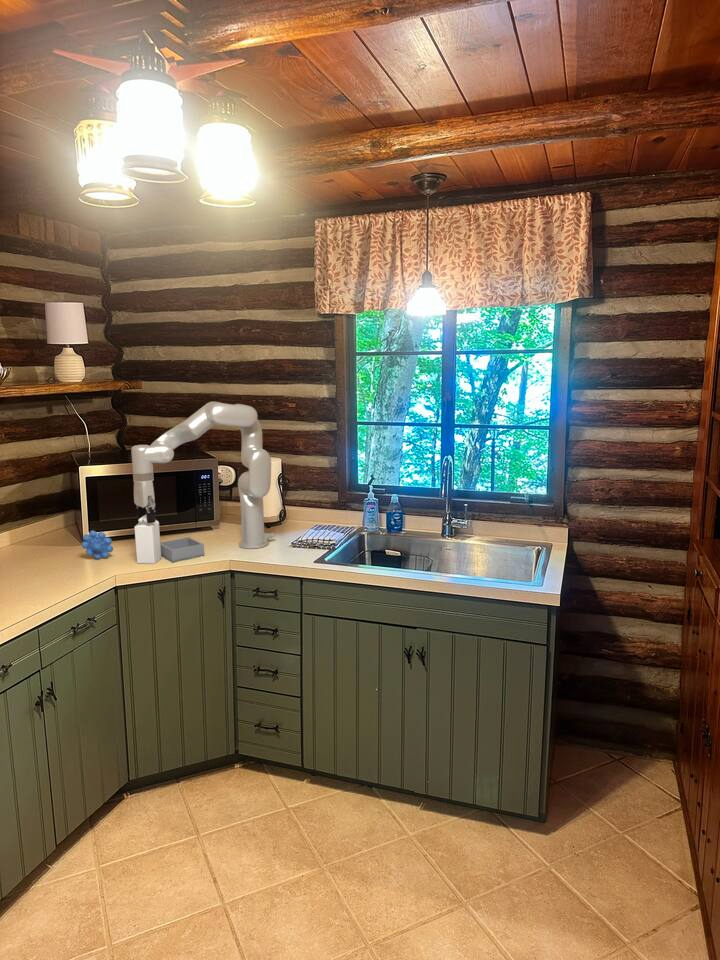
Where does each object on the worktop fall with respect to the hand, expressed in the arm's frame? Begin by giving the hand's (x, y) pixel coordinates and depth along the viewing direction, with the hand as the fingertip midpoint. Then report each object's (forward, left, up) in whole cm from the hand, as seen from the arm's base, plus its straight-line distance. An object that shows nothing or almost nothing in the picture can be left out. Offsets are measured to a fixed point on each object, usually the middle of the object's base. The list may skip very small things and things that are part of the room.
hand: (146, 520), depth 270 cm
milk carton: (0, 0, -17) cm, 17 cm away
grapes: (+15, -15, -17) cm, 27 cm away
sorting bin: (-13, +1, -17) cm, 21 cm away
